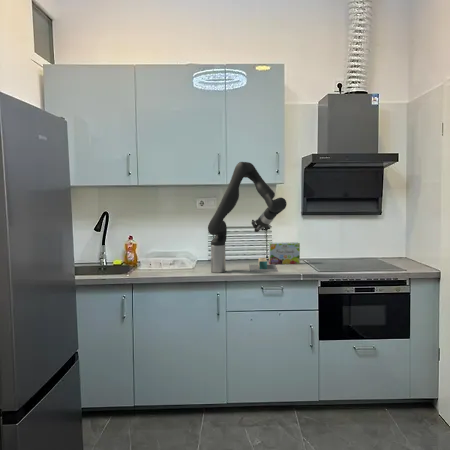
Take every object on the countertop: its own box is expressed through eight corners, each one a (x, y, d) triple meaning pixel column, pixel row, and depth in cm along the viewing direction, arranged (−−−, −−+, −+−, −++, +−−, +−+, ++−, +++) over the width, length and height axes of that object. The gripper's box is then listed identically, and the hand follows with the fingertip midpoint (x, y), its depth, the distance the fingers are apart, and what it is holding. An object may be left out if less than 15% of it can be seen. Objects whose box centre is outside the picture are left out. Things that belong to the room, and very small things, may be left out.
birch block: (259, 261, 279) (258, 257, 294) (259, 269, 279) (258, 265, 295) (267, 261, 278) (265, 257, 294) (267, 269, 279) (265, 265, 295)
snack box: (270, 264, 300) (270, 243, 299) (268, 263, 305) (268, 242, 304) (299, 264, 301) (299, 242, 300) (298, 262, 307) (297, 241, 306)
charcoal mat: (249, 272, 270) (249, 271, 270) (249, 265, 298) (249, 264, 298) (278, 272, 269) (278, 271, 269) (275, 265, 297) (275, 264, 297)
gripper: (277, 216, 259) (266, 228, 274) (257, 209, 257) (247, 222, 271) (275, 226, 255) (264, 238, 270) (255, 220, 253) (245, 232, 268)
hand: (255, 230), depth 271 cm, fingers closed
